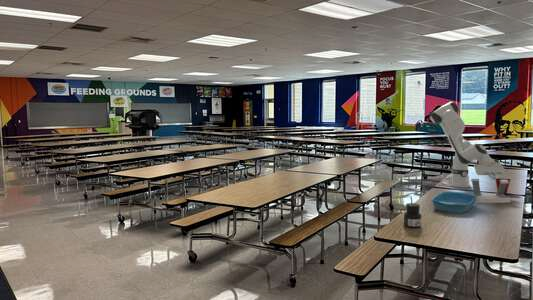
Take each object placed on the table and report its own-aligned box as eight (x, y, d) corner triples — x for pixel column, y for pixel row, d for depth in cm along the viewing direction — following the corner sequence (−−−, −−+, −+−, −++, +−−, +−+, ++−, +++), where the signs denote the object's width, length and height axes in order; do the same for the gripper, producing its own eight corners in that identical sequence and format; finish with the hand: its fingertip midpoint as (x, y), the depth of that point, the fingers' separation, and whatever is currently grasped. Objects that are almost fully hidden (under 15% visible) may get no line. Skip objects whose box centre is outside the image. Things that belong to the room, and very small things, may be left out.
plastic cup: (505, 191, 291) (506, 175, 290) (513, 194, 281) (514, 178, 280) (491, 191, 293) (491, 175, 291) (498, 194, 282) (498, 178, 281)
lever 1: (473, 196, 263) (471, 179, 266) (479, 196, 263) (477, 179, 266) (475, 195, 261) (472, 178, 264) (481, 195, 261) (479, 178, 264)
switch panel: (467, 198, 269) (467, 193, 269) (497, 197, 270) (497, 193, 270) (478, 203, 256) (479, 198, 255) (510, 202, 256) (510, 197, 256)
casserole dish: (465, 217, 223) (466, 205, 223) (427, 210, 238) (427, 199, 237) (480, 205, 251) (480, 194, 250) (444, 200, 266) (445, 190, 265)
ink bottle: (409, 229, 201) (410, 207, 199) (399, 224, 209) (400, 203, 208) (425, 227, 203) (426, 205, 202) (414, 223, 212) (415, 202, 211)
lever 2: (495, 194, 264) (500, 179, 259) (501, 194, 264) (506, 179, 259) (497, 196, 262) (502, 181, 257) (503, 196, 262) (508, 181, 257)
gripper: (474, 161, 276) (482, 176, 267) (501, 160, 277) (510, 176, 269) (470, 166, 281) (478, 181, 272) (497, 165, 282) (505, 181, 273)
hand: (494, 178), depth 270 cm, fingers closed
